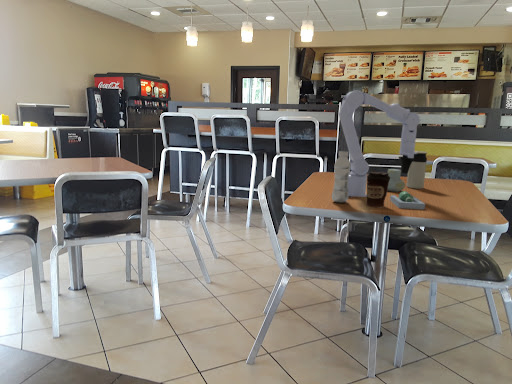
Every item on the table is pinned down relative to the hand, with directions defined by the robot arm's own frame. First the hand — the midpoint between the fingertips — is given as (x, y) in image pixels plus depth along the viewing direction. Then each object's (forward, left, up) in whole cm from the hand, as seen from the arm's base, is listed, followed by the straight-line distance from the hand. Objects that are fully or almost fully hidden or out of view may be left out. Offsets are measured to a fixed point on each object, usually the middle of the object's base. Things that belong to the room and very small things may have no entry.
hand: (404, 173), depth 170 cm
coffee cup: (-15, -22, -11) cm, 29 cm away
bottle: (-2, -12, -8) cm, 14 cm away
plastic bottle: (-29, -18, -11) cm, 36 cm away
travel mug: (+13, +29, -11) cm, 33 cm away
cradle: (-3, -16, -10) cm, 19 cm away
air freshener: (-1, +16, -11) cm, 19 cm away
